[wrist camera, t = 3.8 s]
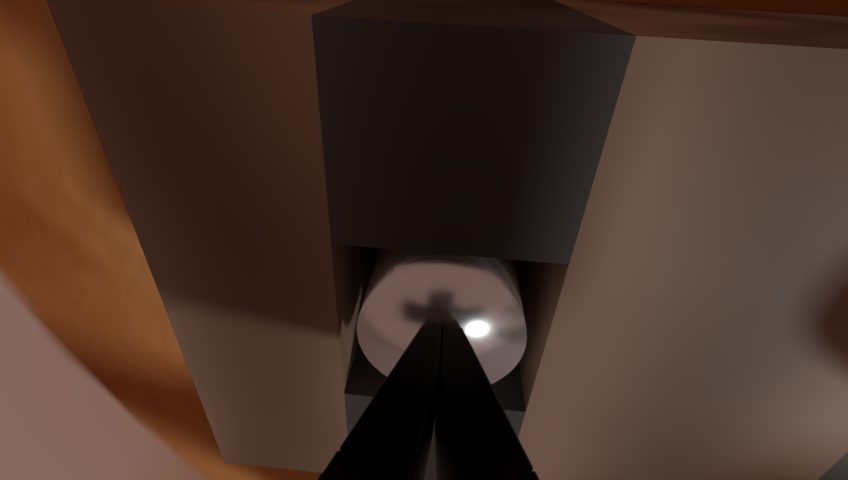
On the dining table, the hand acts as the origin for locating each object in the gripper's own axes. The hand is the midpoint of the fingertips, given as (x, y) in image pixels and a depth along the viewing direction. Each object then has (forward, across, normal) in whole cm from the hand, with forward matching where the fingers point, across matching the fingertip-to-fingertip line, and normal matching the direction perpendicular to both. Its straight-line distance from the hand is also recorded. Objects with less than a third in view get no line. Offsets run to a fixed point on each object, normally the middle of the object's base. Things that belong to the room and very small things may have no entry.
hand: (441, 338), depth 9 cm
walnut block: (+7, -6, 0) cm, 9 cm away
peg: (+7, 0, 0) cm, 7 cm away
